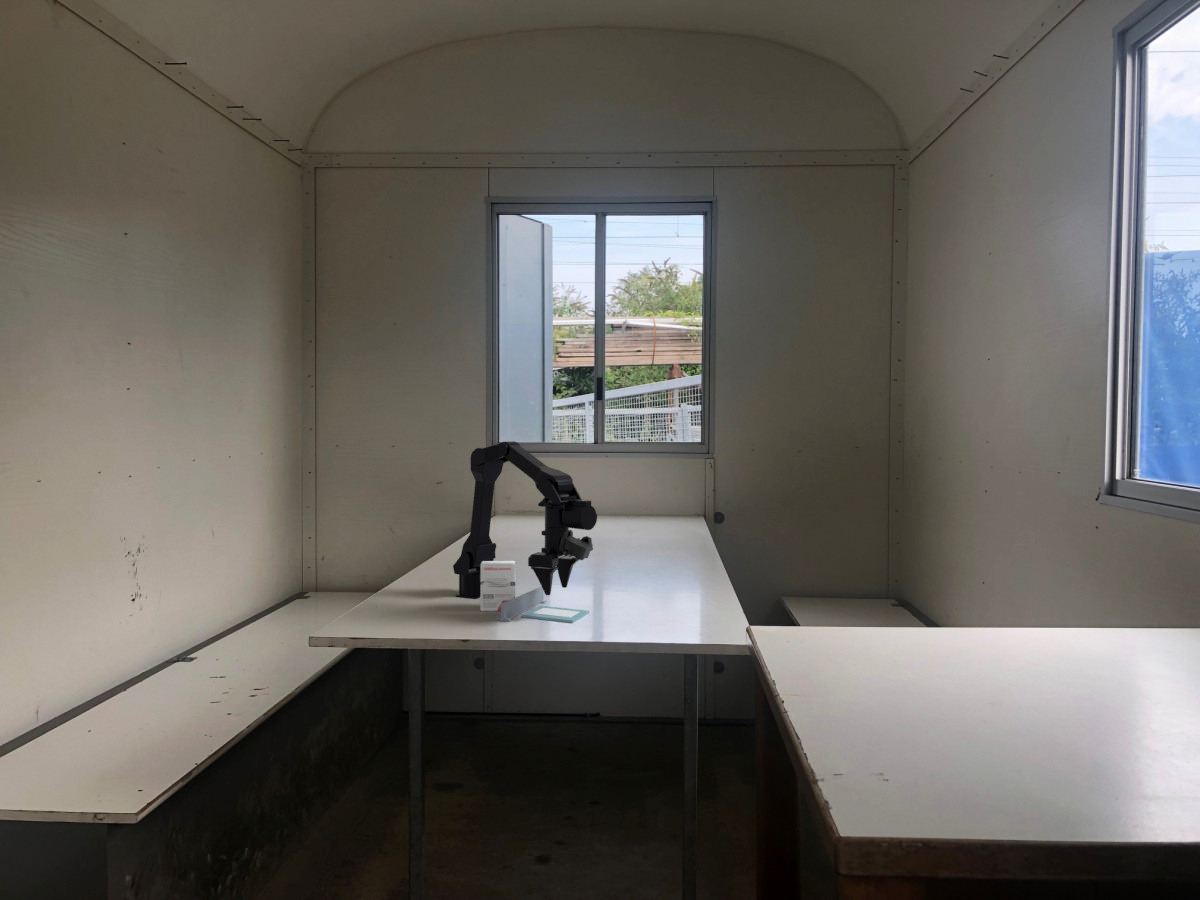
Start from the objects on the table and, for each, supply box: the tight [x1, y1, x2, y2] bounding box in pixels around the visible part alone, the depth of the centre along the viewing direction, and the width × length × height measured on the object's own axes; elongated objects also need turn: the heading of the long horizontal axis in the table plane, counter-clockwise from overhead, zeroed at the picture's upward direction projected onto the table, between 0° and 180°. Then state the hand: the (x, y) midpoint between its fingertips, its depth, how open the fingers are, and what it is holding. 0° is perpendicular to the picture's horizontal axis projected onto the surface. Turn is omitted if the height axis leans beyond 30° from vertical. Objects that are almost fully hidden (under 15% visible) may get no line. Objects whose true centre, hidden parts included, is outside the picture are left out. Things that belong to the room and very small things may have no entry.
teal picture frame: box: [521, 605, 590, 624], centre depth 179 cm, size 13×10×1 cm
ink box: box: [479, 560, 516, 612], centre depth 185 cm, size 8×5×12 cm, turn 96°
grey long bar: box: [497, 586, 547, 622], centre depth 183 cm, size 3×20×4 cm, turn 158°
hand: (556, 591), depth 179 cm, fingers open, 9 cm apart
